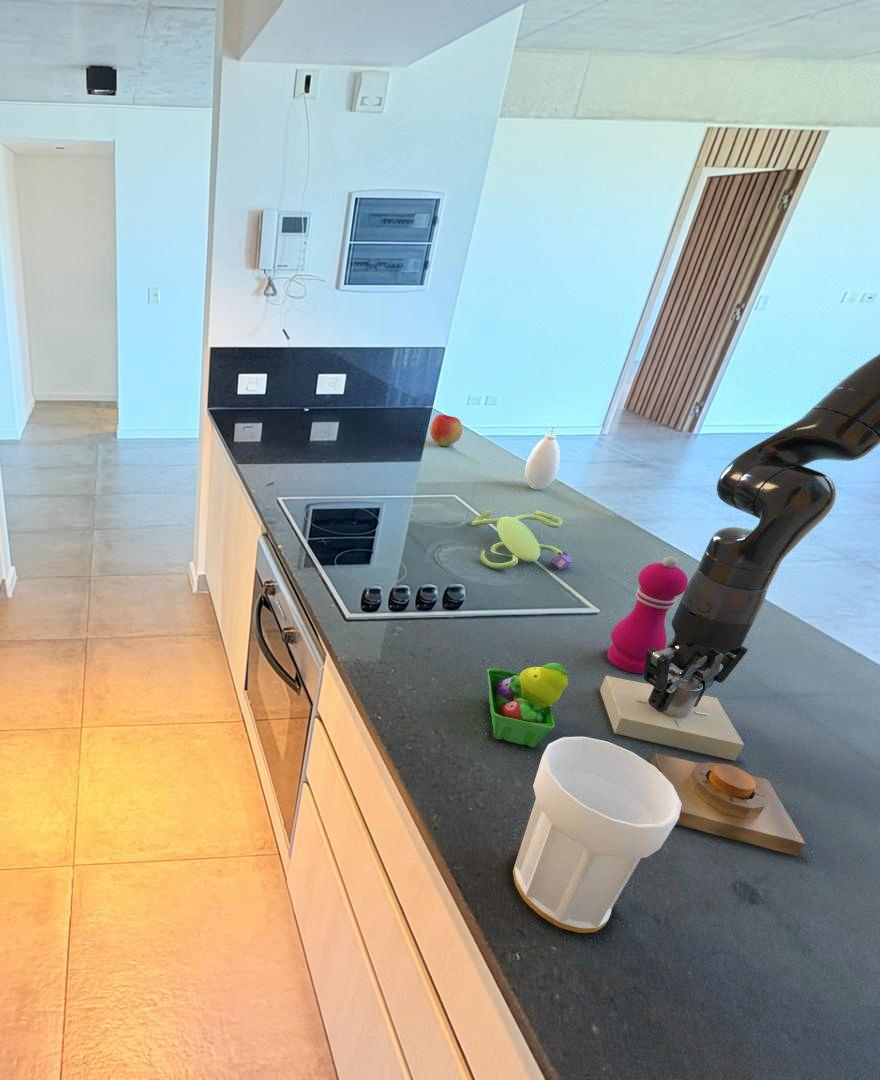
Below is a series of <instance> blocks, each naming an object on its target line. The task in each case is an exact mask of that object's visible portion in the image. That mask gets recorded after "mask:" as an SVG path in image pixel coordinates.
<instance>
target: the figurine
mask: <svg viewBox="0 0 880 1080" xmlns="http://www.w3.org/2000/svg"><path fill="white" fill-rule="evenodd" d="M492 515H493V511H492V510H486V511H485V512H483V513H481V514H479V515H477V516H476V517H474V518H473V519H472V521H471V522H470V525H471V526H473V527H478V526H481V525H482V526H483V525H492V524H496V530H497V534H498V536H499V539H500V540H501V541H499V542H497V543H494V544H492V546H491V547H490V552H491V554H494V555H497V556H503V557H509V558H511V560H510V561H507V562H504V563H503V562H501V563H500V562H499V563H498V562H491V561H490V560H488V558H486V555H485V554H486V550H485V549H483V550H481V552H480V560H481V562H482V563H483V564H484V565H485V566H486V567H488V568H490V569H494V570H495V569H496V570H505V569H509V568H511V567H514V566H516V565H517V564H518V563H519V560H522V561H524V562H526V563H531V562H537V561H538V560H539V558H540V556H541V550H547V551H550V552H552V553H554V554H555V555H556V557H555V558H552V559H551V560H550V562H551V563H552V564H554V565H555V566H556V567H557V568H558V569H559V570H562V569H566V568H567V567H568V566H570V565H571V564H572V563H573V561H572V559H571V557H570V556H569V554H567V552H565V551H562V550H560V549H558V548H557V547H555V546H552V545H549V544H543V543H539V542H538V540H537V538H536V536H535V535H534V534H533V532H532V531H531V530H530V528H528V526H527V525H526V524H524V522H522V521H523V520H531V521H532V520H533V521H537V522H540V523H542V524H543V525H545V526H547V527H549V528H552V529H556V528H557V529H558V528H560V527H561V526H562V524H563V522H564V520H563V519H562V517H559V516H556V515H553V514H549V513H546V512H542V511H540V510H536V511H535V512H534V514H520V515H516V516H514V517H513V516H506V515H505V516H501V517H500V518H497V517H495V518H487V517H490V516H492ZM503 547H506V549H507V550H508V551H509V552H510V553H511V554H506V553H500V552H497V550H498V549H500V548H503Z"/></svg>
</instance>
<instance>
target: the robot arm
mask: <svg viewBox="0 0 880 1080" xmlns="http://www.w3.org/2000/svg"><path fill="white" fill-rule="evenodd" d="M879 445H880V353H878V354H877V355H875V356H874V357H872V358H871V359H869V360H867V361H866V362H865V363H863V364H861V365H860V366H859V367H858V368H856V369H855V370H853V372H851V373H850V374H848V375H847V376H846V377H845V378H844V379H842V380H840V382H839V383H838V384H836V385H835V386H834V387H833V388H832V390H830V391H829V392H828V393H827V394H826V395H824V397H823V398H822V399H821V400H819V401H818V402H817V403H816V404H815V405H814V406H813V407H812V408H811V409H810V410H808V411H807V412H806V413H805V415H803V416H802V417H801V418H800V419H798V420H796V421H795V422H793V423H792V424H790V425H788V426H785V427H784V428H783V429H781V430H779V431H777V432H775V433H774V434H773V435H770V436H769V437H767V438H765V439H764V440H762V441H761V442H759V443H757V444H755V445H754V446H752V447H749V448H748V449H747V450H745V451H743V452H742V453H741V454H739V455H738V456H736V457H735V458H734V459H732V460H731V461H730V462H729V463H728V464H727V465H726V467H724V469H723V470H722V472H721V473H720V475H719V477H718V479H717V483H716V493H717V496H718V498H719V499H720V500H721V501H722V502H723V503H724V504H726V505H728V506H729V507H732V508H734V509H737V510H738V511H741V512H743V513H746V514H748V515H751V516H753V517H755V518H757V519H759V521H758V524H757V525H756V526H755V527H754V529H751V528H745V527H735V526H734V527H733V526H731V527H724V528H721V529H719V530H717V531H716V532H715V533H714V534H713V535H712V536H711V537H710V540H709V541H708V544H707V546H706V548H705V551H704V553H703V554H702V557H701V560H700V562H699V563H698V566H697V568H696V570H695V572H694V573H693V575H692V576H691V578H690V579H689V581H688V584H687V587H686V590H685V591H684V592H683V595H682V596H681V599H680V601H679V604H678V606H677V608H676V611H675V613H674V615H673V617H672V619H671V628H672V629H673V632H674V637H673V638H672V639H671V641H670V642H669V643H668V644H667V645H666V648H665V649H663V650H661V651H657V650H656V649H654V648H651V649H649V650H648V651H647V653H646V661H645V669H644V674H643V678H642V679H643V680H644V681H645V683H646V682H647V684H650V685H652V686H654V688H653V690H652V693H651V695H650V697H649V699H648V702H649V704H650V705H651V706H652V707H653V708H655V709H656V710H657V711H659V712H663V711H666V710H667V708H668V706H669V704H670V701H671V699H672V697H673V695H674V693H675V692H674V691H675V690H676V688H677V687H678V686H679V685H680V683H681V682H682V681H688V680H689V679H690V677H691V676H693V677H695V678H696V679H698V680H699V681H700V682H701V683H702V686H703V688H702V690H701V692H700V694H699V696H698V698H697V700H696V702H695V704H694V706H693V707H696V706H697V705H698V703H699V701H700V700H701V698H702V695H704V693H705V691H706V689H708V688H711V687H712V686H713V684H714V682H717V683H718V684H719V683H720V684H721V683H723V682H724V681H725V680H726V679H727V678H728V677H729V675H730V674H731V673H732V671H734V669H735V668H736V666H737V665H738V664H739V663H740V661H741V660H742V659H743V658H744V657H745V655H746V654H747V652H748V651H749V650H748V648H747V647H746V646H744V645H743V644H744V642H745V640H746V638H747V637H748V634H749V633H750V630H751V628H752V626H753V625H754V623H755V620H756V618H757V617H758V615H759V613H760V611H761V609H762V607H763V605H764V602H765V600H766V597H767V593H768V589H769V587H770V585H771V583H772V581H773V580H774V577H775V575H776V573H777V572H778V569H779V567H780V565H781V564H782V561H783V560H784V559H785V558H786V556H787V555H789V553H790V552H791V551H793V550H794V549H795V547H796V546H797V545H798V544H799V543H800V542H801V541H802V540H803V539H804V538H805V537H806V536H807V535H808V534H809V533H810V532H811V531H813V530H814V528H816V527H817V526H818V525H819V524H820V523H821V522H822V521H823V520H824V519H825V518H826V517H827V516H828V515H829V513H830V512H831V510H832V509H833V507H834V505H835V502H836V498H837V497H836V496H837V491H836V485H835V483H834V481H833V479H832V478H831V477H829V475H827V474H825V473H823V472H821V471H818V470H815V469H812V468H809V467H806V466H807V465H808V464H810V463H813V462H816V461H825V460H827V461H841V462H850V461H857V460H859V459H862V458H863V457H865V456H867V455H868V454H869V453H871V452H872V451H873V450H874V449H875V448H877V447H878V446H879ZM673 665H674V666H675V667H676V668H675V667H674V666H673ZM721 666H722V668H721V669H720V667H721ZM677 668H678V669H677ZM681 672H682V673H681ZM668 674H671V675H672V676H673V679H672V680H671V681H670V682H668V681H667V680H668Z"/></svg>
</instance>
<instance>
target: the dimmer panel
mask: <svg viewBox="0 0 880 1080" xmlns="http://www.w3.org/2000/svg"><path fill="white" fill-rule="evenodd" d="M653 688H654V686H652V685H651V684H650V683H646V682H645V683H644V682H639V681H634V680H631V679H624V678H620V677H614V676H610V675H605V676H604V679H603V682H602V684H601V687H600V690H599V692H600V695H601V698H602V701H603V704H604V707H605V709H606V713H607V715H608V718H609V721H610V724H611V727H612V730H613V733H614V734H616V735H619V736H624V737H628V738H632V739H633V738H634V739H637V740H641V741H647V742H650V743H654V744H659V745H664V746H668V747H672V748H677V749H681V750H686V751H690V752H694V753H698V754H699V753H700V754H704V755H708V756H713V757H717V758H722V759H725V760H729V761H734V762H736V761H737V759H738V757H739V755H740V753H741V751H742V750H743V748H744V746H745V744H744V742H743V740H742V738H741V736H740V735H739V733H738V732H737V730H736V728H735V726H734V724H733V723H732V721H731V720H730V718H729V716H728V715H727V713H726V711H725V709H724V708H723V706H722V704H721V702H720V701H719V699H718V698H717V697H715V696H709V695H704V694H703V695H702V698H701V700H700V701H699V703H698V705H697V706H696V707H693V708H692V710H691V712H690V714H689V716H687V717H685V718H678V717H673V716H670V715H667V714H665V713H663V712H659V711H657V710H656V709H655V708H653V707H652V706H651V705H650V704H649V702H648V699H649V697H650V695H651V693H652V690H653Z"/></svg>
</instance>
